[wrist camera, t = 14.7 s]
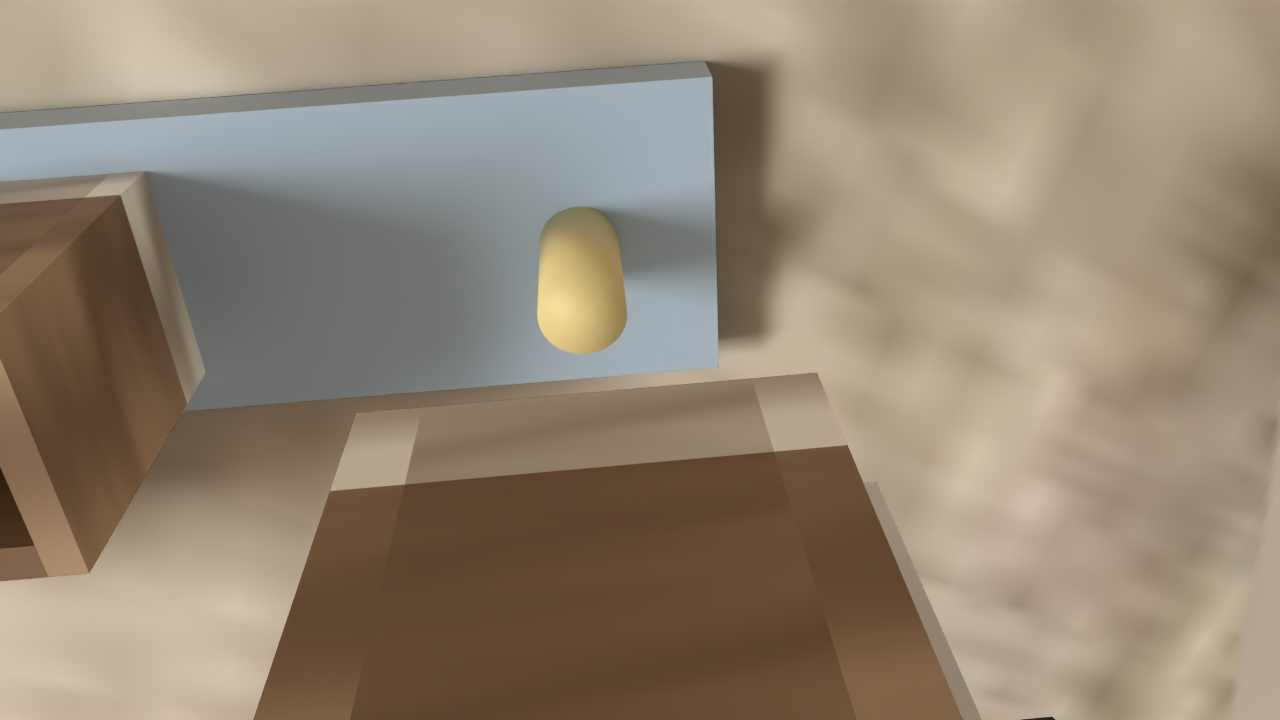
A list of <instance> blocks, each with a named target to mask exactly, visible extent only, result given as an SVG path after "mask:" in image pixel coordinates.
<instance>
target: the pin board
mask: <svg viewBox="0 0 1280 720" xmlns="http://www.w3.org/2000/svg"><path fill="white" fill-rule="evenodd" d="M137 171H145V174H146V177H147V180H148V183H149V187H150V190H151V193H152V197H153V200H154V203H155V207H156V210H157V213H158V216H159V220H160V223H161V226H162V230H163V233H164V236H165V239H166V243H167V246H168V249H169V253H170V256H171V259H172V262H173V266H174V269H175V272H176V276H177V279H178V282H179V286H180V289H181V292H182V295H183V299H184V302H185V305H186V309H187V312H188V315H189V318H190V322H191V325H192V328H193V332H194V335H195V338H196V342H197V345H198V348H199V351H200V355H201V358H202V361H203V365H204V368H205V371H206V373H205V374H204V376H203V378H202V379H201V381H200V383H199V385H198V386H197V388H196V390H195V392H194V393H193V395H192V397H191V398H190V400H189V402H188V404H187V405H186V407H185V409H184V411H195V410H207V409H219V408H231V407H244V406H256V405H268V404H280V403H292V402H304V401H317V400H329V399H341V398H353V397H365V396H377V395H389V394H402V393H414V392H426V391H438V390H450V389H462V388H474V387H487V386H499V385H511V384H523V383H535V382H547V381H559V380H572V379H584V378H596V377H608V376H620V375H632V374H644V373H657V372H669V371H681V370H693V369H705V368H717V367H719V356H718V311H717V265H716V220H715V175H714V129H713V84H712V75H711V73H710V71H709V69H708V67H707V65H706V63H705V61H700V62H687V63H673V64H660V65H646V66H633V67H619V68H605V69H592V70H578V71H565V72H551V73H538V74H524V75H510V76H497V77H483V78H470V79H456V80H443V81H429V82H415V83H402V84H388V85H375V86H361V87H348V88H334V89H320V90H307V91H293V92H280V93H266V94H253V95H239V96H225V97H212V98H198V99H185V100H171V101H158V102H144V103H130V104H117V105H103V106H90V107H76V108H63V109H49V110H35V111H22V112H8V113H0V182H4V181H18V180H31V179H44V178H57V177H71V176H84V175H97V174H110V173H124V172H137Z"/></svg>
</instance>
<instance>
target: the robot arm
mask: <svg viewBox="0 0 1280 720" xmlns="http://www.w3.org/2000/svg"><path fill="white" fill-rule="evenodd" d="M864 486H865V488H866V491H867V493H868V495H869V498H870V500H871V502H872V505H873V507H874V510H875V512H876V514H877V517H878V519H879V521H880V524H881V526H882V529H883V531H884V533H885V536H886V538H887V540H888V543H889V545H890V548H891V550H892V552H893V555H894V557H895V559H896V562H897V564H898V567H899V569H900V571H901V574H902V576H903V578H904V581H905V583H906V586H907V588H908V590H909V593H910V595H911V597H912V600H913V602H914V605H915V607H916V609H917V612H918V614H919V616H920V619H921V621H922V624H923V626H924V628H925V631H926V633H927V635H928V638H929V640H930V643H931V645H932V647H933V650H934V652H935V654H936V657H937V659H938V661H939V664H940V666H941V669H942V671H943V673H944V676H945V678H946V680H947V683H948V685H949V688H950V690H951V692H952V695H953V697H954V699H955V702H956V704H957V707H958V709H959V711H960V714H961V716H962V718H963V720H981V717H980V715H979V713H978V710H977V708H976V706H975V704H974V701H973V699H972V697H971V695H970V692H969V690H968V688H967V686H966V683H965V681H964V679H963V676H962V674H961V672H960V670H959V667H958V665H957V663H956V661H955V658H954V656H953V654H952V651H951V649H950V647H949V645H948V642H947V640H946V638H945V636H944V633H943V631H942V629H941V627H940V624H939V622H938V620H937V617H936V615H935V613H934V611H933V608H932V606H931V604H930V602H929V599H928V597H927V595H926V592H925V590H924V588H923V586H922V583H921V581H920V579H919V577H918V574H917V572H916V570H915V568H914V565H913V563H912V561H911V558H910V556H909V554H908V552H907V549H906V547H905V545H904V543H903V540H902V538H901V536H900V534H899V531H898V529H897V527H896V524H895V522H894V520H893V518H892V515H891V513H890V511H889V509H888V506H887V504H886V502H885V499H884V497H883V495H882V493H881V490H880V488H879V486H878V484H877V482H866V483H864ZM1023 720H1055V719H1054V718H1053V717H1044V718H1034V719H1023Z"/></svg>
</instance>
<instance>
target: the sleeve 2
mask: <svg viewBox="0 0 1280 720" xmlns="http://www.w3.org/2000/svg"><path fill="white" fill-rule="evenodd" d="M253 720H963V718H962V716H961V714H960V711H959V709H958V707H957V704H956V702H955V699H954V697H953V695H952V692H951V690H950V688H949V685H948V683H947V680H946V678H945V676H944V673H943V671H942V669H941V666H940V664H939V661H938V659H937V657H936V654H935V652H934V650H933V647H932V645H931V643H930V640H929V638H928V635H927V633H926V631H925V628H924V626H923V624H922V621H921V619H920V616H919V614H918V612H917V609H916V607H915V605H914V602H913V600H912V597H911V595H910V593H909V590H908V588H907V586H906V583H905V581H904V578H903V576H902V574H901V571H900V569H899V567H898V564H897V562H896V559H895V557H894V555H893V552H892V550H891V548H890V545H889V543H888V540H887V538H886V536H885V533H884V531H883V529H882V526H881V524H880V521H879V519H878V517H877V514H876V512H875V510H874V507H873V505H872V502H871V500H870V498H869V495H868V493H867V491H866V488H865V486H864V483H863V481H862V479H861V476H860V474H859V472H858V469H857V467H856V464H855V462H854V460H853V457H852V455H851V453H850V450H849V448H848V445H847V443H846V441H845V438H844V436H843V434H842V431H841V429H840V427H839V424H838V422H837V419H836V417H835V415H834V412H833V410H832V408H831V405H830V403H829V400H828V398H827V396H826V393H825V391H824V389H823V386H822V384H821V381H820V379H819V377H818V374H817V373H808V374H796V375H785V376H774V377H762V378H751V379H739V380H728V381H716V382H705V383H693V384H682V385H670V386H659V387H647V388H636V389H625V390H613V391H602V392H590V393H579V394H567V395H556V396H544V397H533V398H521V399H510V400H498V401H487V402H476V403H464V404H453V405H441V406H430V407H418V408H407V409H395V410H384V411H372V412H361V413H356V415H355V418H354V421H353V424H352V427H351V430H350V433H349V436H348V439H347V442H346V445H345V448H344V451H343V454H342V457H341V460H340V463H339V466H338V469H337V472H336V475H335V478H334V481H333V484H332V487H331V490H330V493H329V496H328V499H327V502H326V505H325V508H324V511H323V514H322V517H321V520H320V523H319V526H318V529H317V532H316V535H315V538H314V541H313V543H312V546H311V549H310V552H309V555H308V558H307V561H306V564H305V567H304V570H303V573H302V576H301V579H300V582H299V585H298V588H297V591H296V594H295V597H294V600H293V603H292V606H291V609H290V612H289V615H288V618H287V621H286V624H285V627H284V630H283V633H282V636H281V639H280V642H279V645H278V648H277V651H276V654H275V657H274V660H273V663H272V666H271V669H270V672H269V675H268V678H267V681H266V684H265V687H264V690H263V693H262V696H261V699H260V702H259V705H258V707H257V710H256V713H255V716H254V719H253Z"/></svg>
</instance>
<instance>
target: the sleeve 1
mask: <svg viewBox="0 0 1280 720" xmlns="http://www.w3.org/2000/svg"><path fill="white" fill-rule="evenodd" d="M205 373H206V371H205V368H204V365H203V361H202V358H201V355H200V351H199V348H198V345H197V342H196V338H195V335H194V332H193V328H192V325H191V322H190V318H189V315H188V312H187V309H186V305H185V302H184V299H183V295H182V292H181V289H180V286H179V282H178V279H177V276H176V272H175V269H174V266H173V262H172V259H171V256H170V253H169V249H168V246H167V243H166V239H165V236H164V233H163V230H162V226H161V223H160V220H159V216H158V213H157V210H156V207H155V203H154V200H153V197H152V193H151V190H150V187H149V183H148V180H147V177H146V174H145V171H137V172H124V173H110V174H97V175H84V176H71V177H57V178H44V179H31V180H18V181H4V182H0V581H8V580H20V579H31V578H43V577H54V576H66V575H77V574H89V573H90V571H91V569H92V568H93V566H94V564H95V562H96V561H97V559H98V557H99V556H100V554H101V552H102V550H103V549H104V547H105V545H106V543H107V542H108V540H109V538H110V537H111V535H112V533H113V531H114V530H115V528H116V526H117V524H118V523H119V521H120V519H121V518H122V516H123V514H124V512H125V511H126V509H127V507H128V505H129V504H130V502H131V500H132V499H133V497H134V495H135V493H136V492H137V490H138V488H139V486H140V485H141V483H142V481H143V480H144V478H145V476H146V474H147V473H148V471H149V469H150V467H151V466H152V464H153V462H154V461H155V459H156V457H157V455H158V454H159V452H160V450H161V448H162V447H163V445H164V443H165V442H166V440H167V438H168V436H169V435H170V433H171V431H172V430H173V428H174V426H175V424H176V423H177V421H178V419H179V417H180V416H181V414H182V412H183V411H184V409H185V407H186V405H187V404H188V402H189V400H190V398H191V397H192V395H193V393H194V392H195V390H196V388H197V386H198V385H199V383H200V381H201V379H202V378H203V376H204V374H205Z"/></svg>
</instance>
